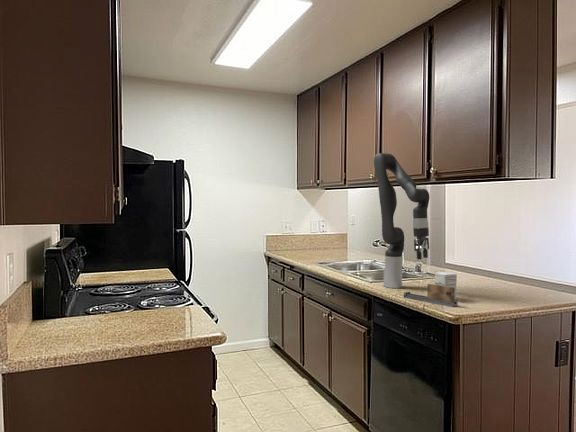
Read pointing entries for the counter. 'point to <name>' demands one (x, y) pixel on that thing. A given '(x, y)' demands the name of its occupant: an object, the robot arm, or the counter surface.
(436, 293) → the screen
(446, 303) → the rail
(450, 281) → the supplement box
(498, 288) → the counter surface
